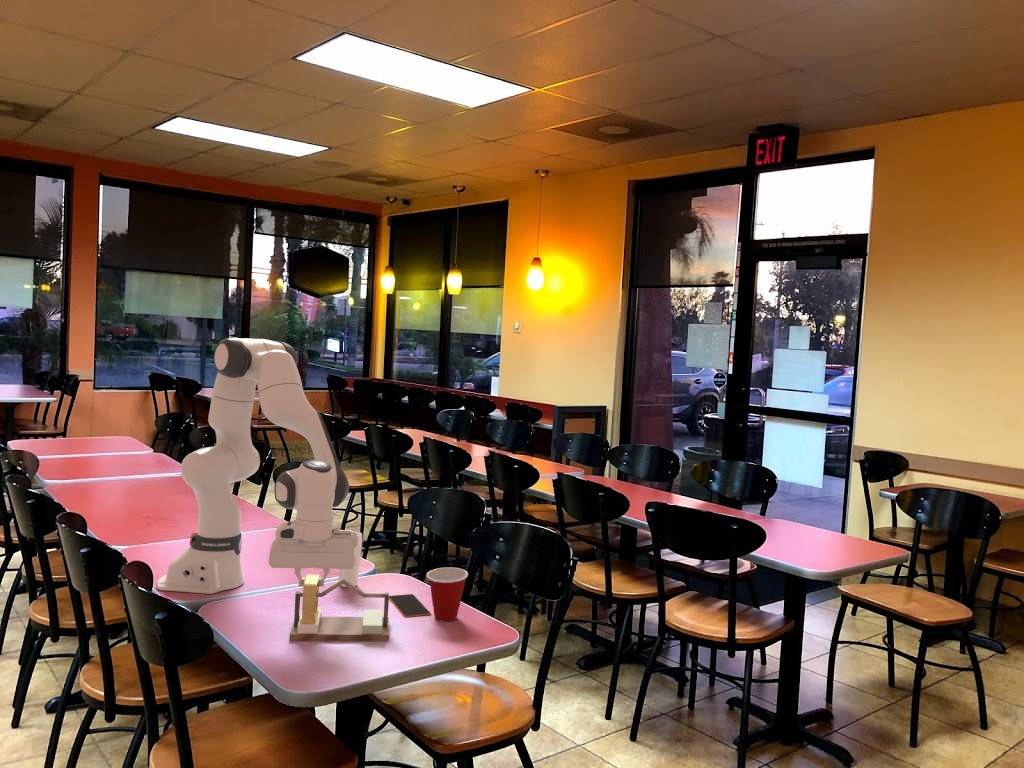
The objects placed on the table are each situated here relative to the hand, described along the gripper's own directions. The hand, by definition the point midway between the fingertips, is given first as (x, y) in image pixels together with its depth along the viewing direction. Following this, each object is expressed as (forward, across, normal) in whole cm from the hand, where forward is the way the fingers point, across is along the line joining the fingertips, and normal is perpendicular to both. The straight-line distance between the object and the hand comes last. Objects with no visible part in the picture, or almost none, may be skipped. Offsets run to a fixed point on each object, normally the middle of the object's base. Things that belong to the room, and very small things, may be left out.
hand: (311, 585), depth 196 cm
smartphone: (+12, -25, -19) cm, 33 cm away
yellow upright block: (+8, 0, 0) cm, 8 cm away
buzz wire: (+11, -8, 0) cm, 14 cm away
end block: (+10, -15, 0) cm, 18 cm away
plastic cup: (+11, -34, -10) cm, 37 cm away
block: (+10, 0, 0) cm, 10 cm away
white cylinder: (+12, -8, -36) cm, 39 cm away
